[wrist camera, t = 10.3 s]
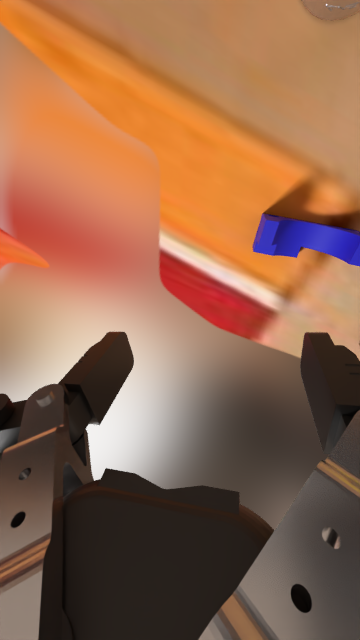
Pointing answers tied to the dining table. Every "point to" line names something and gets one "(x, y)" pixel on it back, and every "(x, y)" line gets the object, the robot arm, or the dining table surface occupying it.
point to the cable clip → (305, 238)
